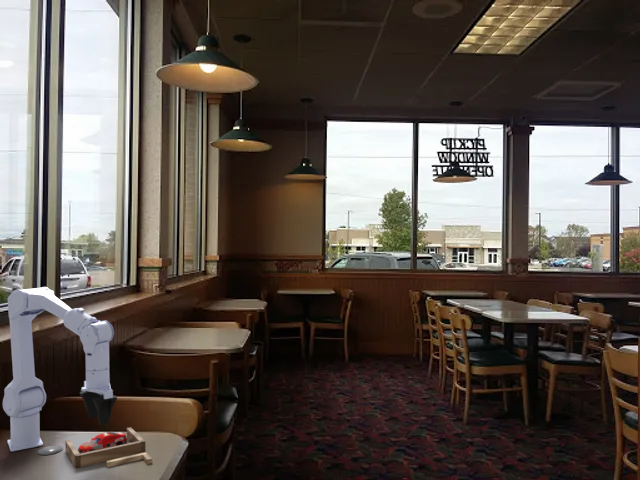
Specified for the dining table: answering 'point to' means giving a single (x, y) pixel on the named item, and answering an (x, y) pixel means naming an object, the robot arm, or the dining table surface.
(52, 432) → the dining table surface
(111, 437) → the race car
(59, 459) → the dining table surface
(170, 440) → the dining table surface
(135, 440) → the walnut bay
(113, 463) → the oak crook stick
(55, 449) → the slate coaster
